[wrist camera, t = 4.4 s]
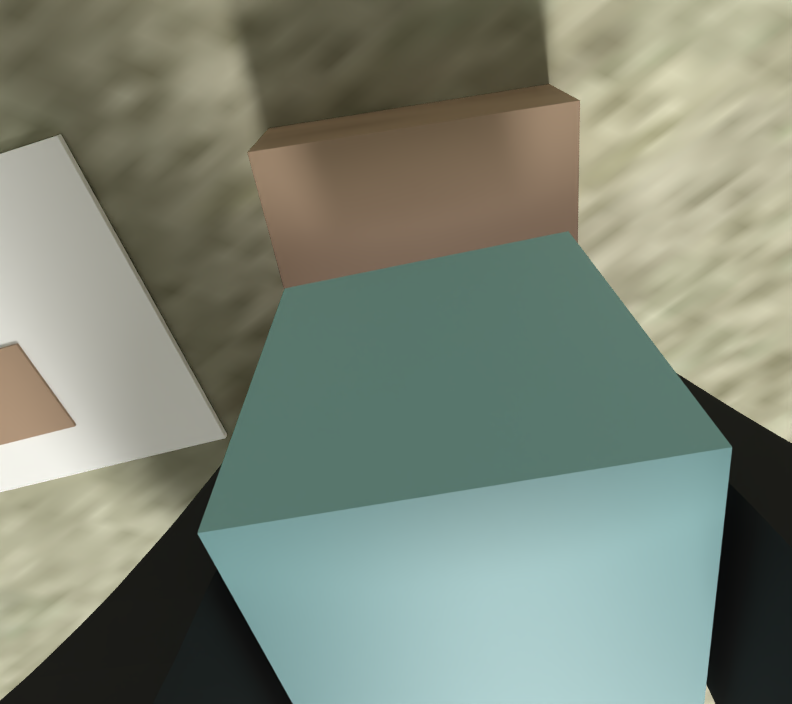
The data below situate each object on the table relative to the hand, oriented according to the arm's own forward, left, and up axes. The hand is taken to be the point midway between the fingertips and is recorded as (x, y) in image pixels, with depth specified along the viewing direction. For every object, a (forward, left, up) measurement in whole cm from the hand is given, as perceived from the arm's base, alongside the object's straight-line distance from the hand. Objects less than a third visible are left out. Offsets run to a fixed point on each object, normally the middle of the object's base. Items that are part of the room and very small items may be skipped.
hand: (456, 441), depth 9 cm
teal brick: (0, 0, -2) cm, 2 cm away
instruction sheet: (-1, +14, -9) cm, 16 cm away
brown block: (0, 0, -9) cm, 9 cm away
